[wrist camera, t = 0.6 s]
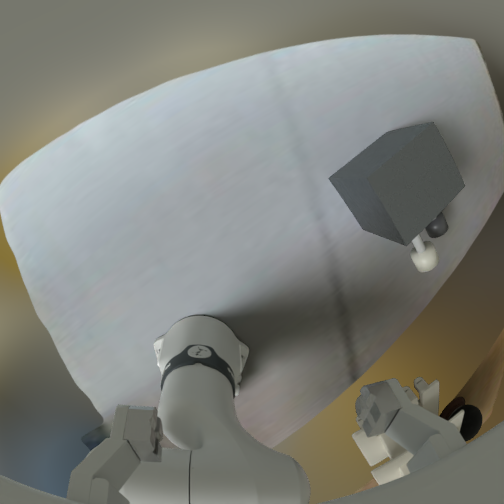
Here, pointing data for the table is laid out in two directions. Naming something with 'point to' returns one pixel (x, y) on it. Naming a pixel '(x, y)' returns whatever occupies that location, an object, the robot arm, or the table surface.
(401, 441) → the robot arm
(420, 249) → the ivory knob
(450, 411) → the black crystal ball
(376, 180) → the control box
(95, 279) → the table surface
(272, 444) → the table surface
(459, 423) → the white spaceship model
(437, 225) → the charcoal knob
